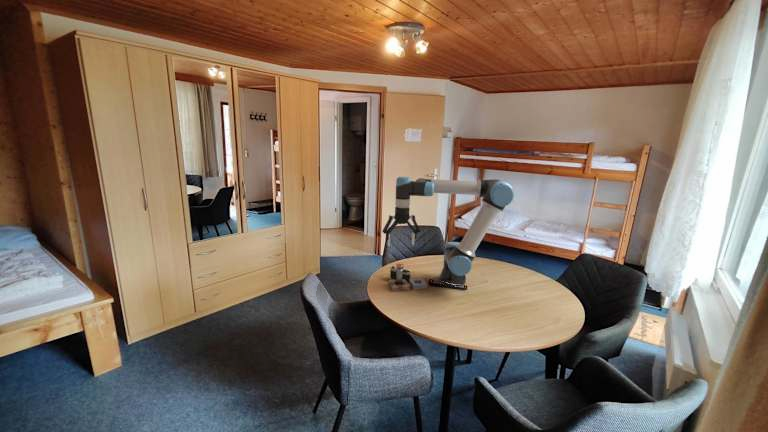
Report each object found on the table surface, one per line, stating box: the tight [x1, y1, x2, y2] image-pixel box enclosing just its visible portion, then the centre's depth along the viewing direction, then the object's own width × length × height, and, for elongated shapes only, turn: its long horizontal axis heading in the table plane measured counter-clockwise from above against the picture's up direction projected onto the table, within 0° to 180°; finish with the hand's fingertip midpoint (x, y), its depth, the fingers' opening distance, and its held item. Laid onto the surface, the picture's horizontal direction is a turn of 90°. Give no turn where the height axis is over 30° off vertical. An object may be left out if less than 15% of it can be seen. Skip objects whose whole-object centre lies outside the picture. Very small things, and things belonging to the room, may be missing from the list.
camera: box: [389, 265, 412, 285], centre depth 192 cm, size 13×8×9 cm, turn 60°
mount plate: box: [409, 278, 428, 290], centre depth 184 cm, size 8×8×2 cm
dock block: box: [387, 279, 411, 293], centre depth 181 cm, size 10×10×2 cm
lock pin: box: [395, 263, 405, 285], centre depth 180 cm, size 4×4×13 cm
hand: (400, 245), depth 176 cm, fingers open, 13 cm apart
